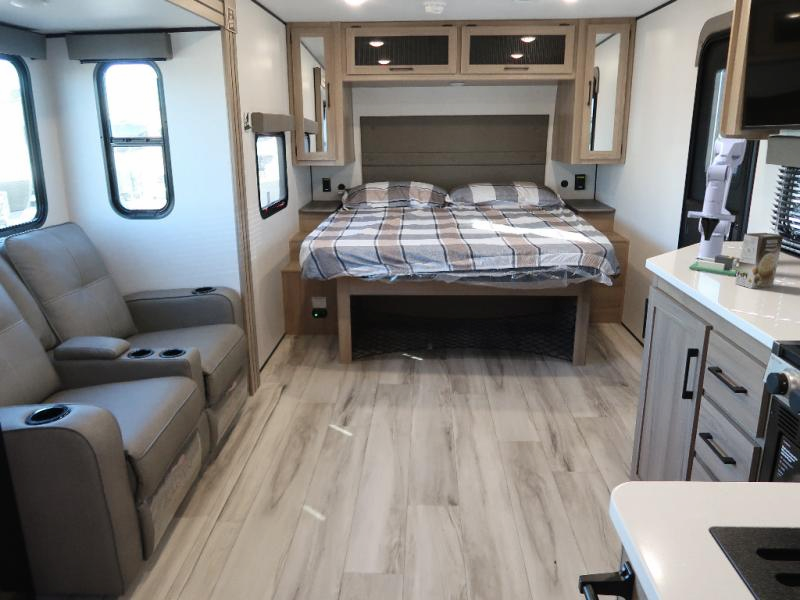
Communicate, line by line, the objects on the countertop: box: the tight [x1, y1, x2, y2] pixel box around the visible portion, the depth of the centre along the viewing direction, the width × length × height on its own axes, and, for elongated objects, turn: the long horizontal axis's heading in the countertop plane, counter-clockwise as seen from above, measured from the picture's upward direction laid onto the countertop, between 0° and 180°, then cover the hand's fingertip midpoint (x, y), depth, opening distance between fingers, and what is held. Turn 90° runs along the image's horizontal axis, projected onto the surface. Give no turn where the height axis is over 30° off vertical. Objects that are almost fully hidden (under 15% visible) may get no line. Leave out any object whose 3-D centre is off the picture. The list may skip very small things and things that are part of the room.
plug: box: [714, 254, 735, 270], centre depth 208 cm, size 4×5×4 cm
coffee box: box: [734, 232, 784, 289], centre depth 189 cm, size 9×6×16 cm
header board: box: [688, 257, 738, 277], centre depth 209 cm, size 12×14×4 cm
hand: (707, 240), depth 211 cm, fingers closed
